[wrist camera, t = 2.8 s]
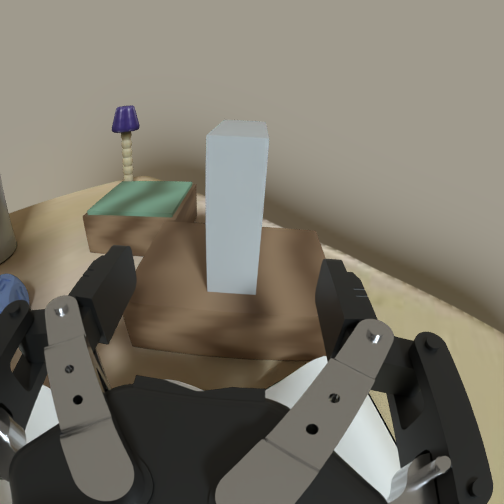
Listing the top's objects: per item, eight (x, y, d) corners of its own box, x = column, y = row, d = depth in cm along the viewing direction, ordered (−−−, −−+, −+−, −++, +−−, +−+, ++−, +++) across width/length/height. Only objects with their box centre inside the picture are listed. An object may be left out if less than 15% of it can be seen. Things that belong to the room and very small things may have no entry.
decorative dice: (19, 330, 21) (3, 298, 19) (-6, 326, 20) (-22, 296, 18) (33, 304, 24) (21, 273, 22) (8, 302, 24) (-4, 272, 22)
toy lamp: (148, 200, 48) (144, 104, 40) (126, 208, 45) (119, 107, 36) (134, 194, 51) (129, 105, 42) (113, 201, 47) (106, 108, 39)
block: (207, 291, 21) (206, 135, 15) (220, 233, 29) (224, 119, 23) (255, 294, 21) (269, 138, 15) (256, 235, 29) (265, 122, 23)
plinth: (90, 252, 33) (81, 212, 30) (124, 212, 44) (120, 180, 41) (178, 258, 34) (175, 215, 31) (196, 215, 44) (196, 181, 41)
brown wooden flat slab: (132, 346, 22) (118, 300, 19) (168, 260, 33) (165, 221, 30) (327, 360, 22) (344, 316, 20) (308, 269, 33) (315, 230, 31)
